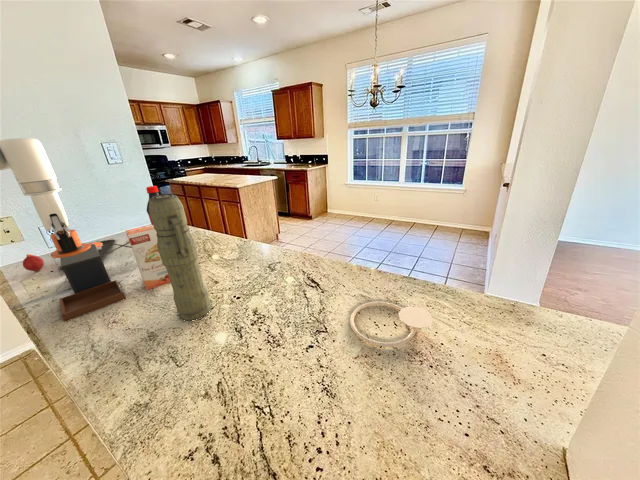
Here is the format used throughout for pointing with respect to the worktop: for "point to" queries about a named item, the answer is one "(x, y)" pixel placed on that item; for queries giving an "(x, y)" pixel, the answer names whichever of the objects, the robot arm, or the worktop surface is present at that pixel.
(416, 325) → the hand towel holder
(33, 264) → the onion
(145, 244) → the cracker box
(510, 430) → the worktop surface
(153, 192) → the cola bottle
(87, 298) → the tray
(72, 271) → the charcoal grey box
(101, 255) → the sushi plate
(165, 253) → the thermos
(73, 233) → the hat
